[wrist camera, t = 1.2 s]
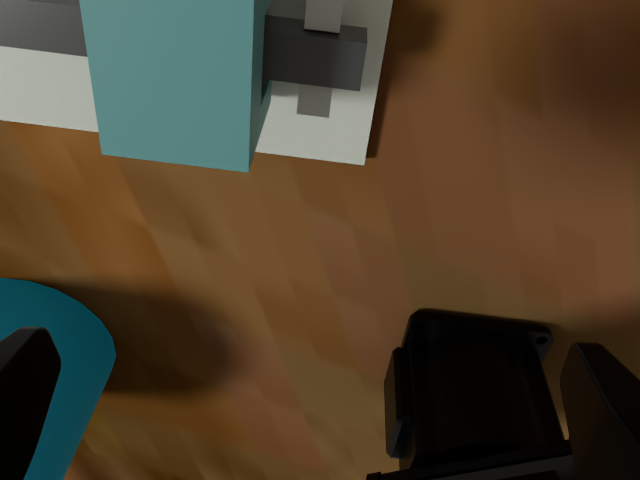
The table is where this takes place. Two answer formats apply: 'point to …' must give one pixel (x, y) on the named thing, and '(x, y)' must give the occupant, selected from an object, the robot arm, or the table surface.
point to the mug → (76, 367)
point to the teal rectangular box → (178, 79)
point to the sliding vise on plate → (278, 65)
